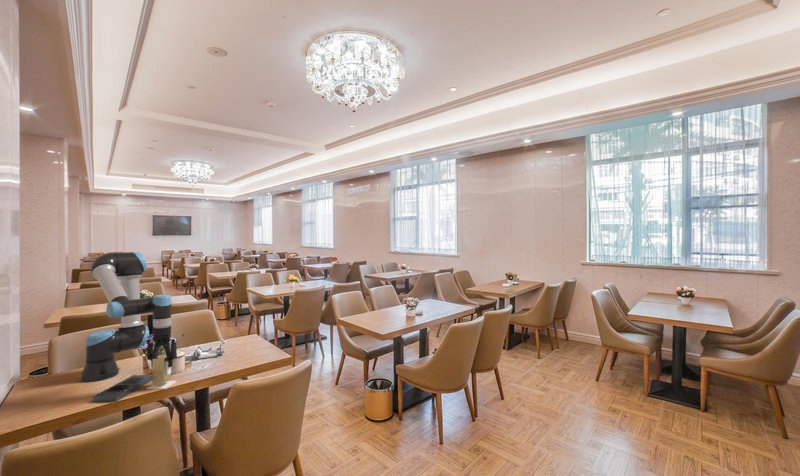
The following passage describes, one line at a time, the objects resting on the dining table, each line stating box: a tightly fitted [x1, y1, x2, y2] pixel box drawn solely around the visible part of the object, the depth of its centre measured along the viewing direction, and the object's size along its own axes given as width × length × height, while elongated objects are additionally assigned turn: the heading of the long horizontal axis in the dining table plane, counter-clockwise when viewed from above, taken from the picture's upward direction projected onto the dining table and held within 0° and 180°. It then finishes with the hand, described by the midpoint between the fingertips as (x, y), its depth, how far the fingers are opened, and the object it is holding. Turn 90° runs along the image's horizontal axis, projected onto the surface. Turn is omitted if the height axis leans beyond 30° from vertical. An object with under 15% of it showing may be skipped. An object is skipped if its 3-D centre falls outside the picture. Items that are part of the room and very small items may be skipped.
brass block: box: [151, 354, 172, 385], centre depth 173 cm, size 6×6×12 cm
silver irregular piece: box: [192, 338, 227, 362], centre depth 217 cm, size 18×10×12 cm
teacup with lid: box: [171, 349, 186, 375], centre depth 191 cm, size 12×9×12 cm
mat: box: [146, 380, 177, 390], centre depth 173 cm, size 9×9×1 cm
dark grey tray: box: [92, 374, 152, 403], centre depth 168 cm, size 10×24×3 cm, turn 2°
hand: (162, 373), depth 173 cm, fingers closed on brass block, 5 cm apart
